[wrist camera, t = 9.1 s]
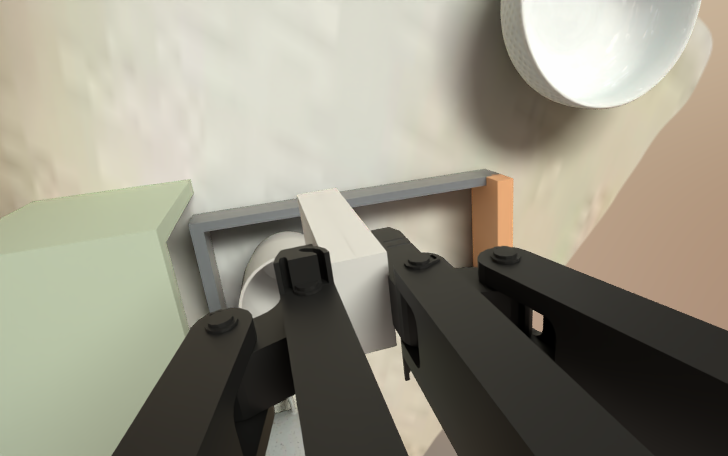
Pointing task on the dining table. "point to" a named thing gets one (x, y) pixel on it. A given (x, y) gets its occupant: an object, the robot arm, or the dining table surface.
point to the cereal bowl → (596, 46)
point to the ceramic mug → (286, 434)
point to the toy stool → (86, 316)
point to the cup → (265, 273)
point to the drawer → (487, 205)
